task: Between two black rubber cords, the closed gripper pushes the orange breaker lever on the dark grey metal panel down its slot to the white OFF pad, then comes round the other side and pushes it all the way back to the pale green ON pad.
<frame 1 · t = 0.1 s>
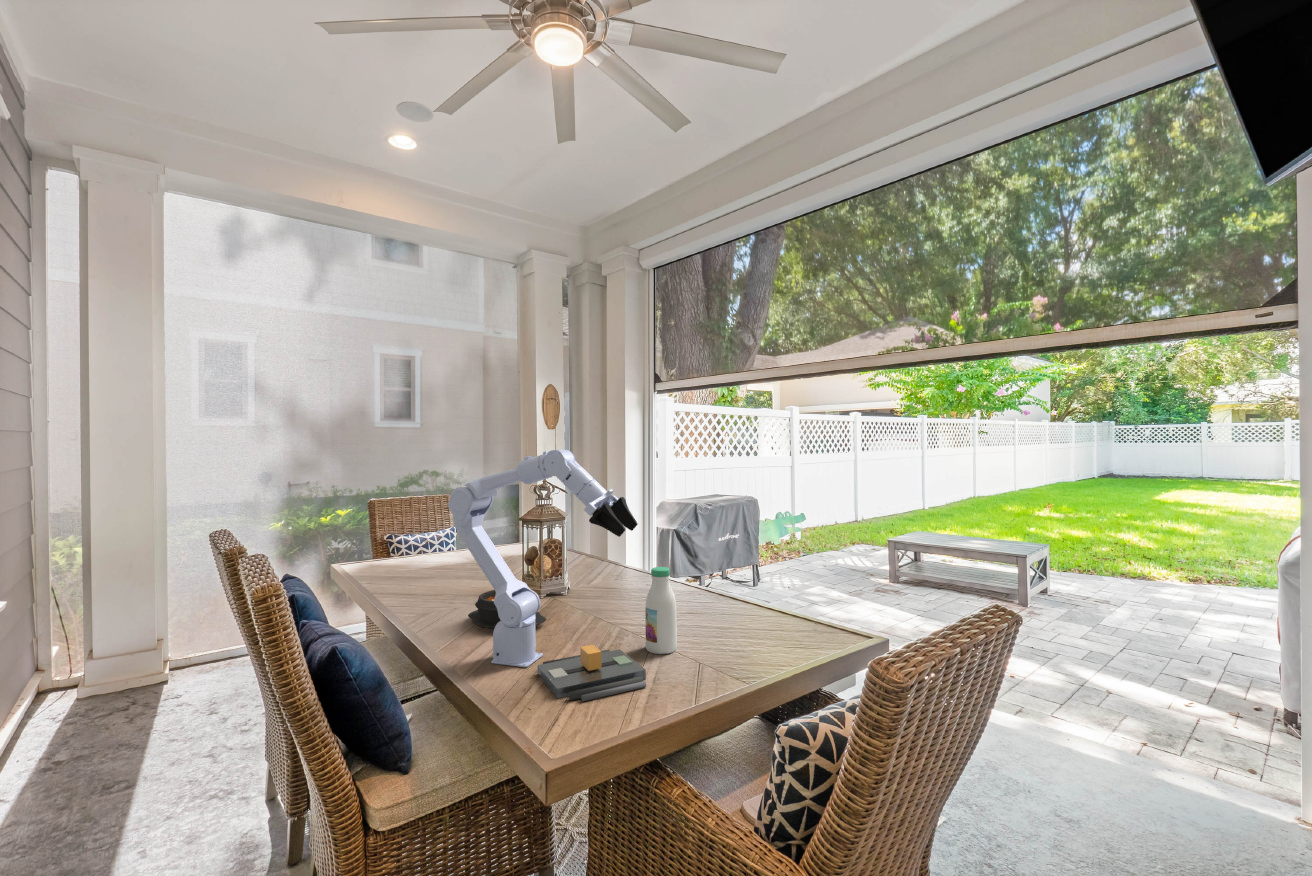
hand: (628, 530, 132), 32 cm above the table, tool tilted 50°, fingers open, 7 cm apart
milk bottle: (661, 650, 147), on the table
casserole: (506, 624, 168), on the table
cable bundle: (591, 676, 131), on the table
breaker panel: (591, 676, 131), on the table
breaker lever: (590, 657, 131), point 4 cm above the table, slide at 0.0 cm
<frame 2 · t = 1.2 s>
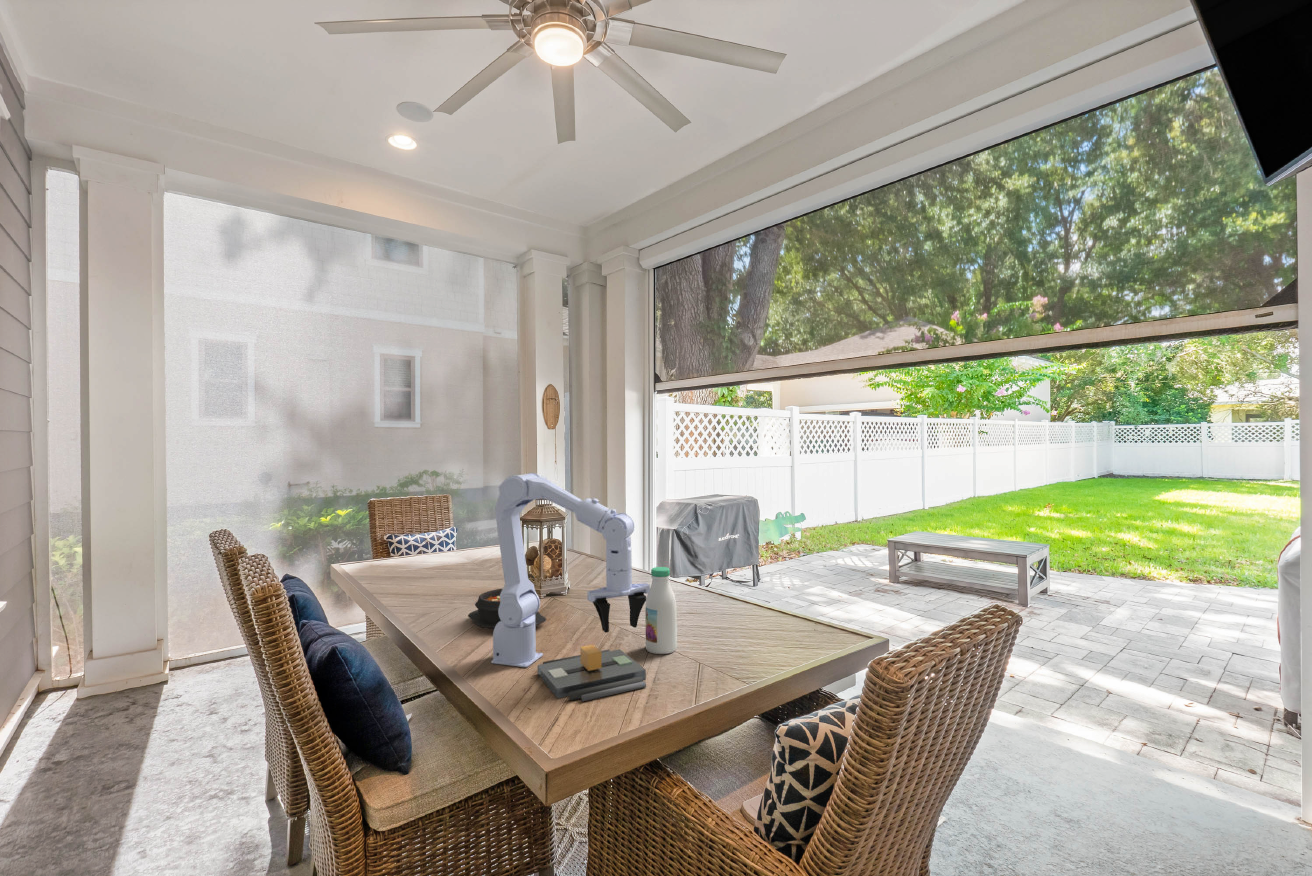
hand: (619, 628, 134), 9 cm above the table, tool pointing down, fingers open, 6 cm apart
nothing on the table moved.
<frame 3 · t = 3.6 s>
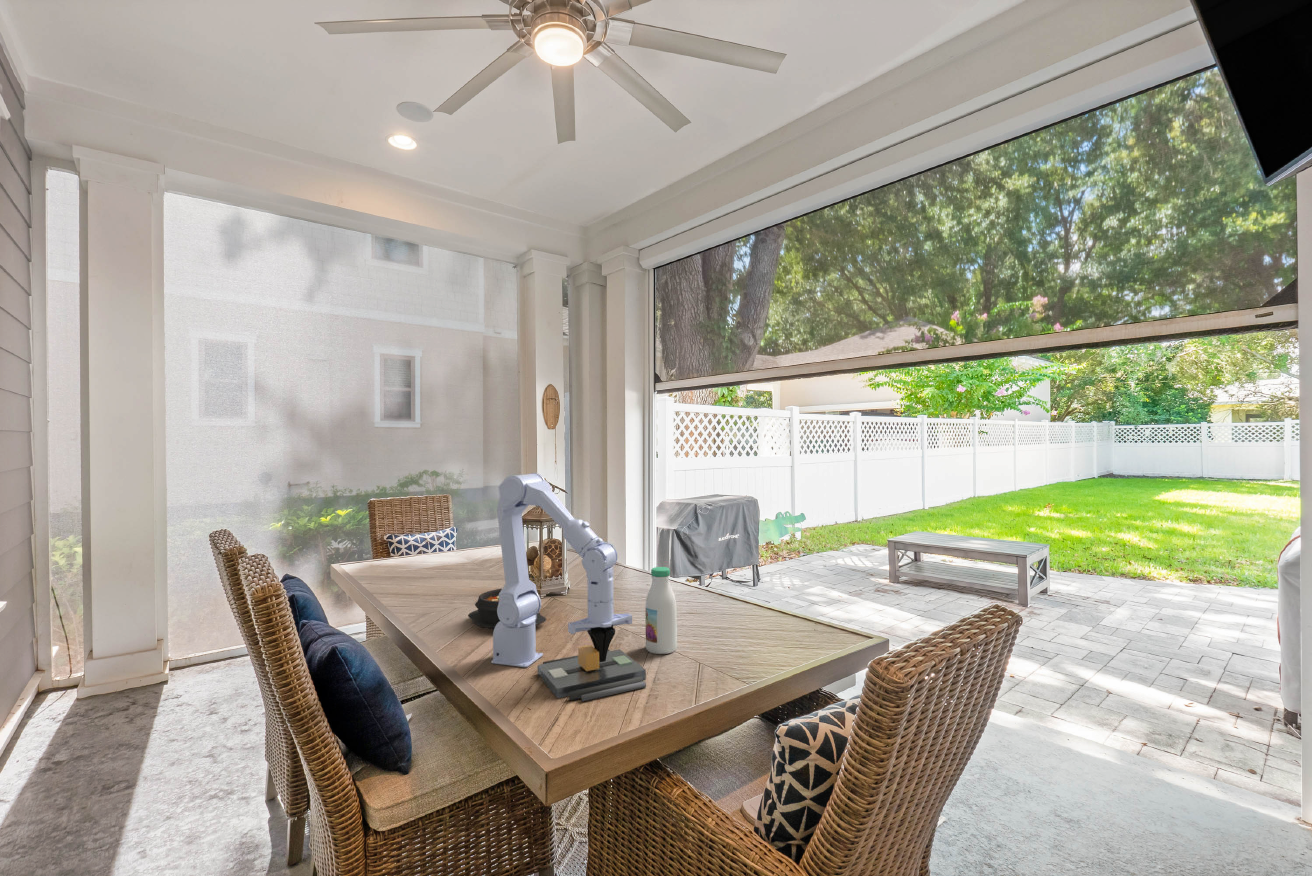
hand: (601, 660, 132), 3 cm above the table, tool pointing down, fingers closed
breaker lever: (588, 657, 131), point 4 cm above the table, slide at -0.5 cm, touching gripper
everything else where it was.
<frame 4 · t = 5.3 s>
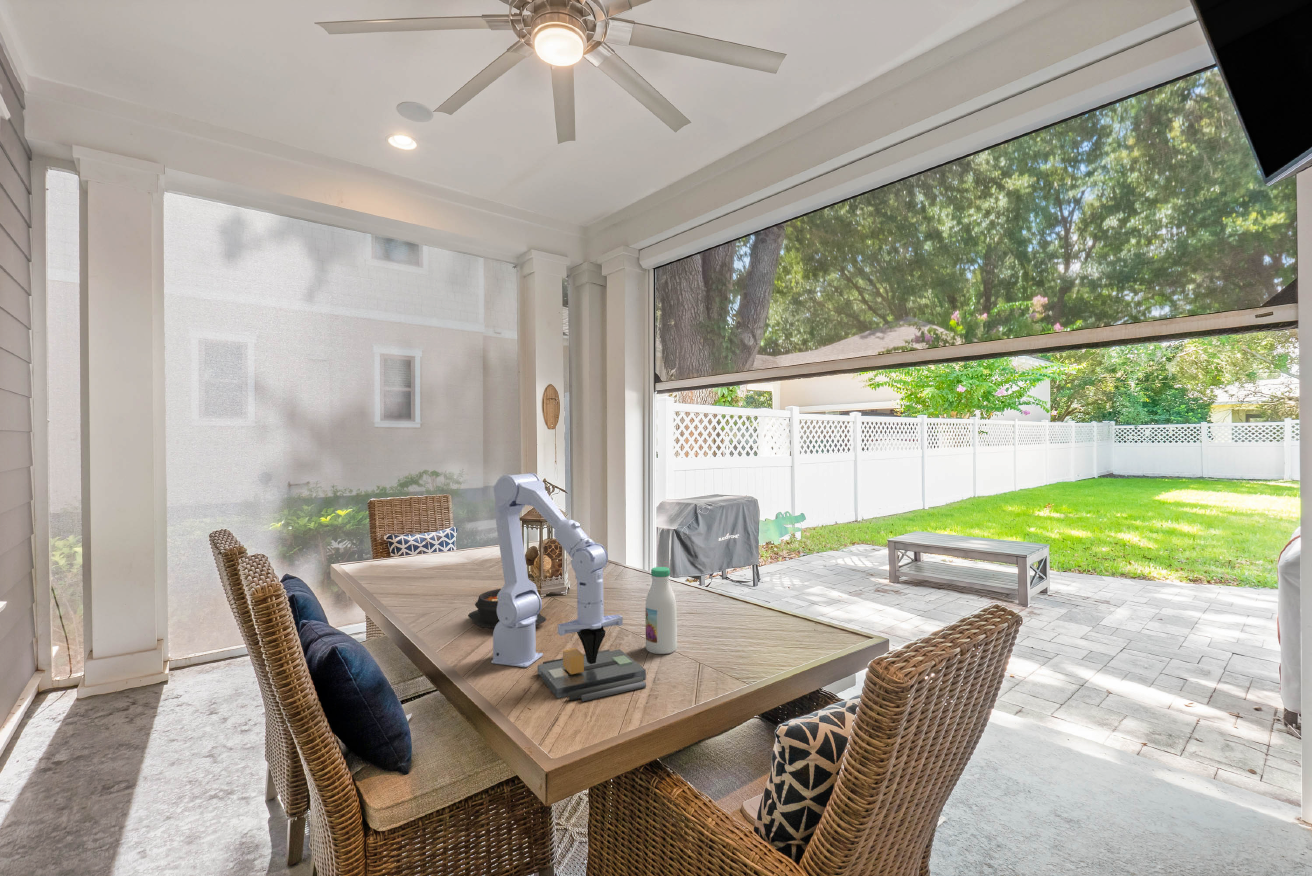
hand: (591, 662, 131), 3 cm above the table, tool pointing down, fingers closed
breaker lever: (573, 660, 129), point 4 cm above the table, slide at -4.1 cm
everything else where it was.
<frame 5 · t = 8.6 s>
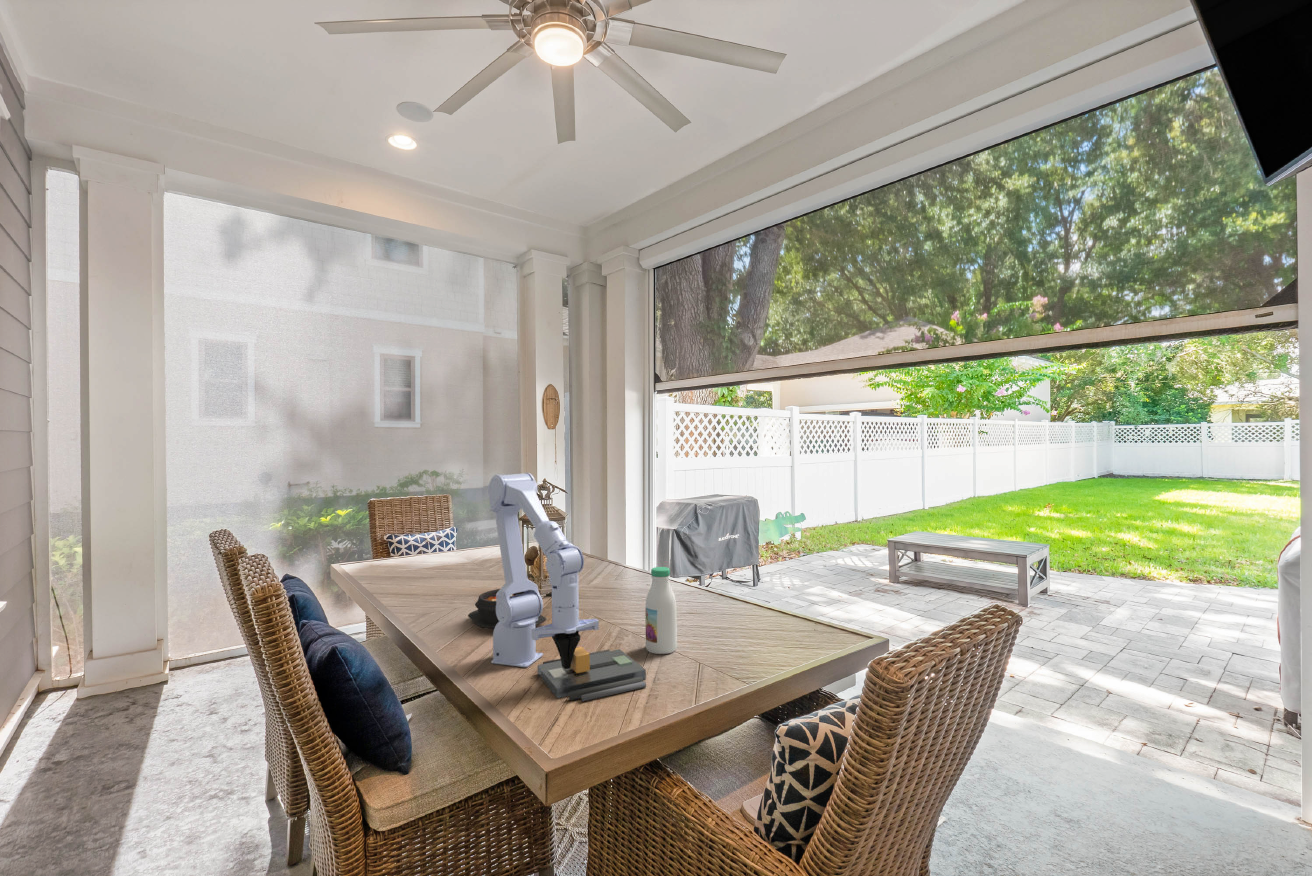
hand: (566, 667, 128), 3 cm above the table, tool pointing down, fingers closed
breaker lever: (579, 659, 130), point 4 cm above the table, slide at -2.7 cm, touching gripper
everything else where it was.
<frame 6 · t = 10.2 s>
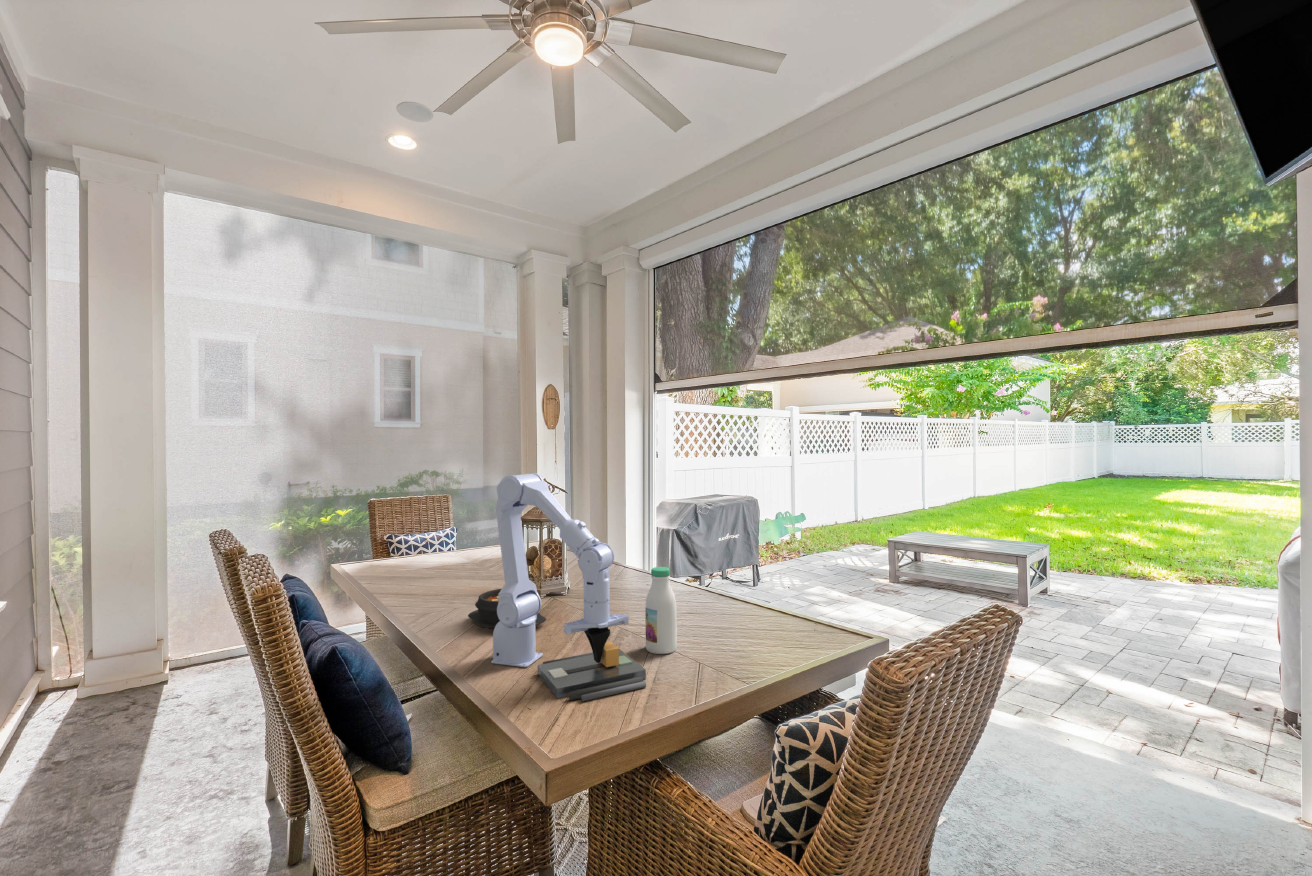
hand: (597, 661, 132), 3 cm above the table, tool pointing down, fingers closed
breaker lever: (608, 653, 133), point 4 cm above the table, slide at 4.1 cm, touching gripper
everything else where it was.
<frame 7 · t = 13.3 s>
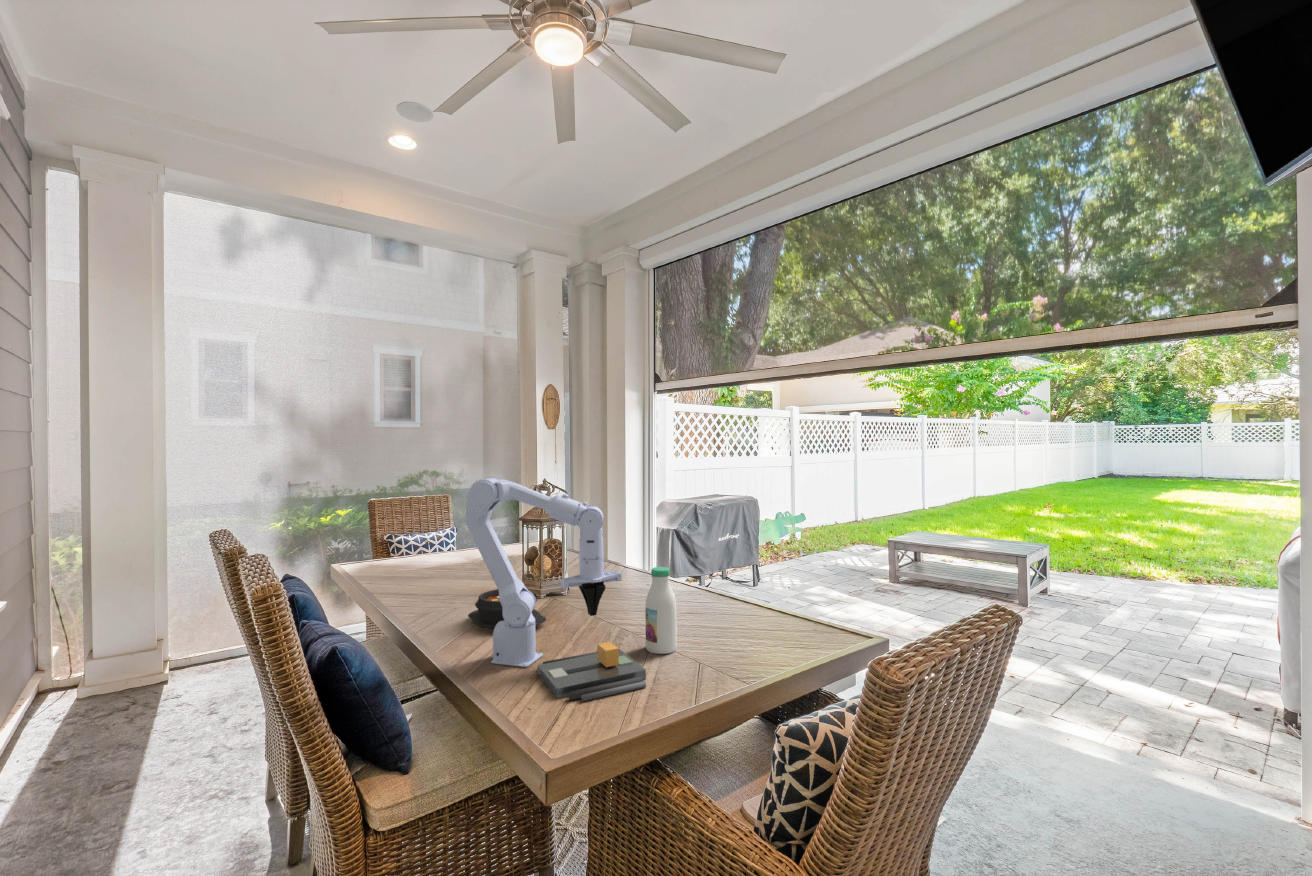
hand: (592, 614, 142), 10 cm above the table, tool pointing down, fingers closed
breaker lever: (607, 654, 133), point 4 cm above the table, slide at 4.1 cm
everything else where it was.
at the end: breaker lever slide at 4.1 cm; breaker lever touching nothing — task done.
